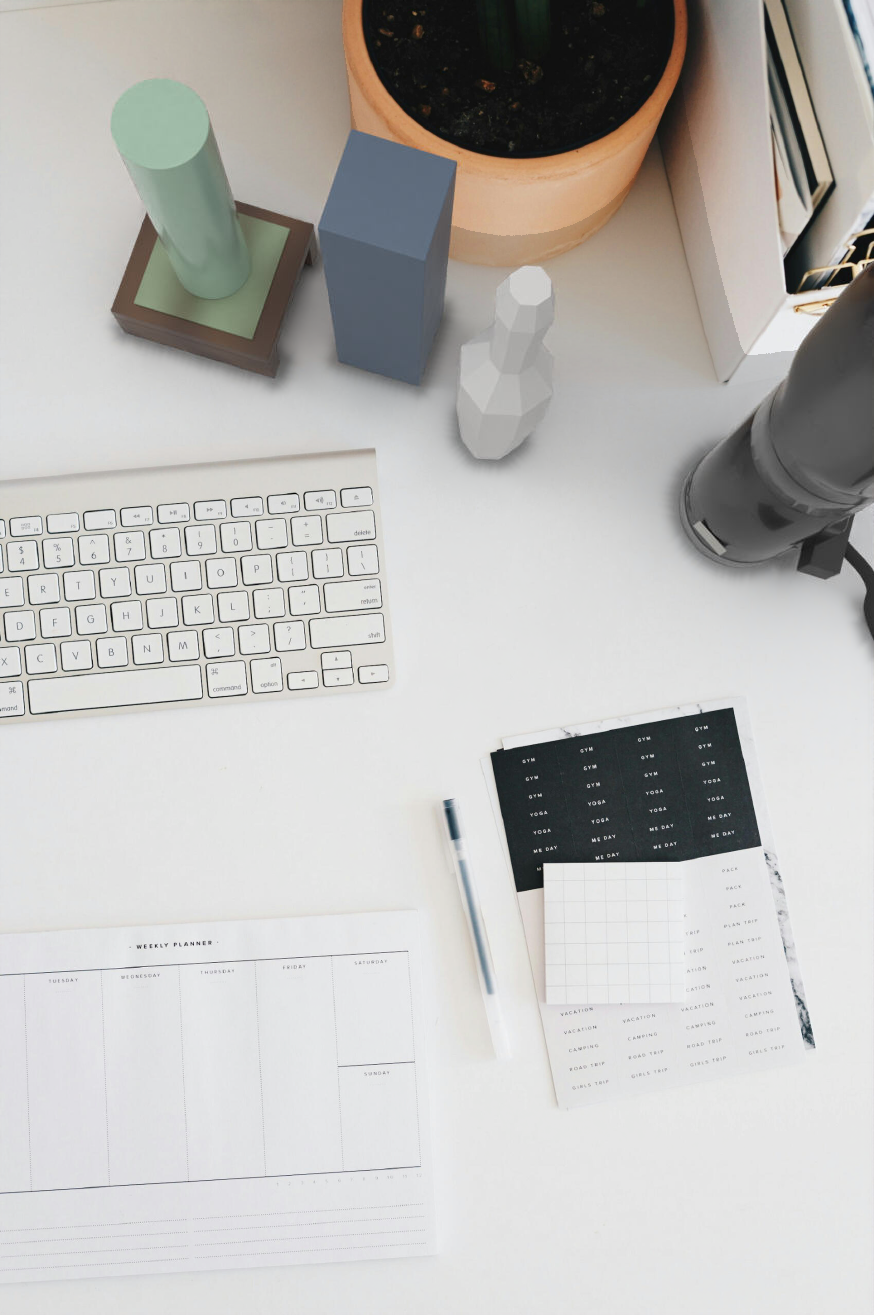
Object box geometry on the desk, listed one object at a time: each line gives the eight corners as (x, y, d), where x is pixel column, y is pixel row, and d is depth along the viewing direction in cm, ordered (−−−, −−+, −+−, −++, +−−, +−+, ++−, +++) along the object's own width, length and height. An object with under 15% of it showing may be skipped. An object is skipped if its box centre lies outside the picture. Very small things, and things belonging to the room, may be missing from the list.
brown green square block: (318, 249, 72) (313, 222, 68) (274, 378, 70) (267, 357, 67) (170, 203, 72) (158, 174, 68) (124, 332, 70) (109, 309, 67)
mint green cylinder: (262, 241, 68) (223, 95, 53) (236, 309, 67) (189, 181, 52) (190, 217, 68) (130, 64, 53) (163, 284, 67) (95, 149, 52)
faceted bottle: (541, 458, 71) (605, 324, 49) (462, 481, 70) (491, 356, 48) (517, 382, 71) (568, 215, 49) (438, 404, 71) (455, 246, 49)
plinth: (443, 309, 72) (457, 160, 54) (419, 386, 71) (425, 260, 53) (363, 285, 71) (351, 127, 54) (338, 361, 71) (317, 227, 53)
